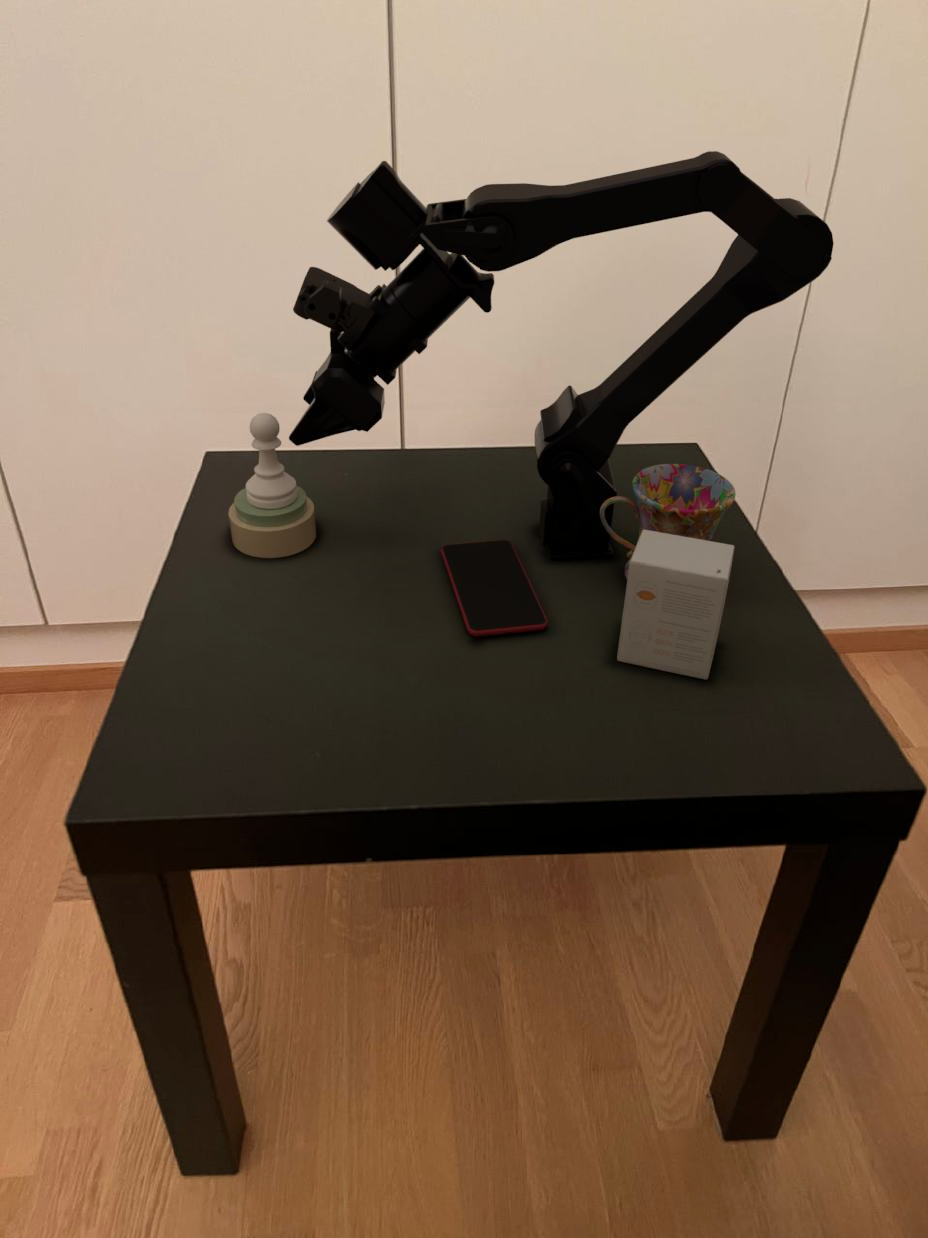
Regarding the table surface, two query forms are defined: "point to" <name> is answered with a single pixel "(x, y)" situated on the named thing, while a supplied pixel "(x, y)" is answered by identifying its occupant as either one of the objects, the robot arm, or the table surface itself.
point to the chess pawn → (269, 467)
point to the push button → (272, 527)
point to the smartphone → (492, 588)
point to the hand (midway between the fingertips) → (299, 420)
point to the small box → (674, 603)
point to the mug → (676, 502)
